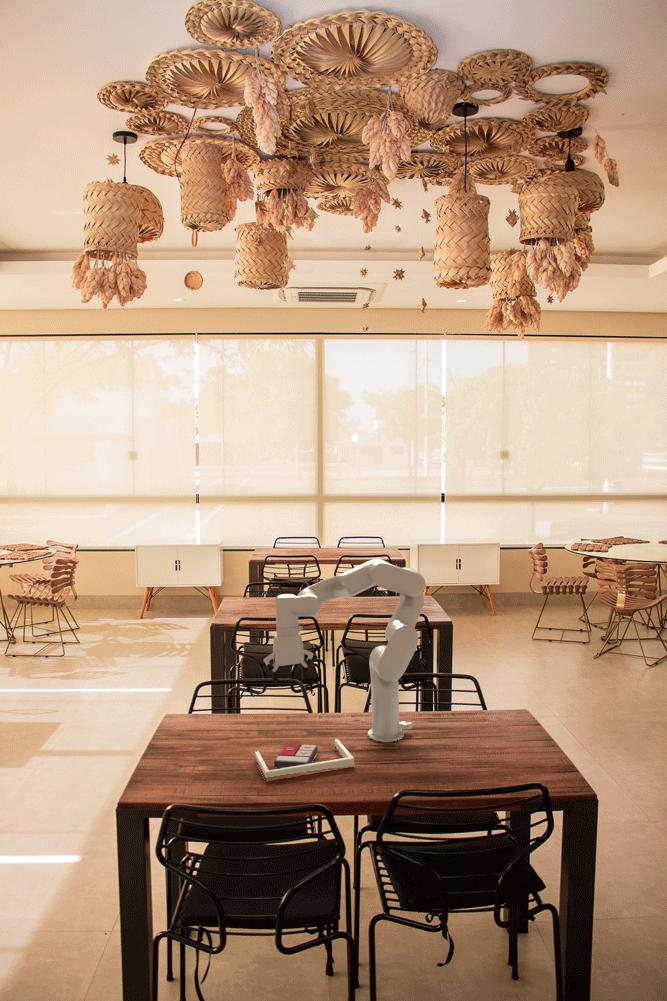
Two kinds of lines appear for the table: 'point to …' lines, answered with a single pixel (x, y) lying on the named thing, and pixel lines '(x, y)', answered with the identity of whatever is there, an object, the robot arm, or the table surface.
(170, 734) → the table surface
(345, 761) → the slot
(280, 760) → the calculator
